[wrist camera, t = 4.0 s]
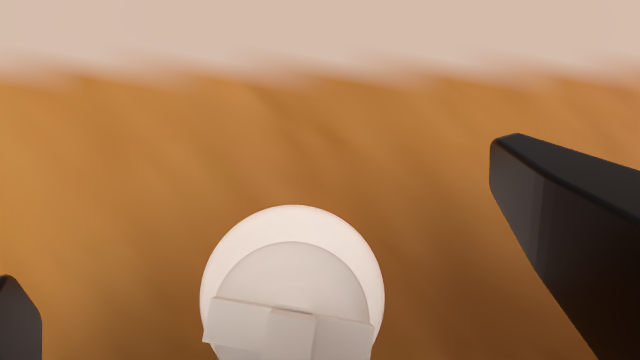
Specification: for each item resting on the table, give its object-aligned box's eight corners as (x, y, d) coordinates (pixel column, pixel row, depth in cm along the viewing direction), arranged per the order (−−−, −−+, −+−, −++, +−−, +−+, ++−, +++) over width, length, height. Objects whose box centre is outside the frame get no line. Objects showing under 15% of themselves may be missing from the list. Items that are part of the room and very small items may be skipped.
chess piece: (221, 190, 15) (83, 36, 5) (396, 222, 15) (583, 127, 5) (182, 374, 14) (-68, 599, 4) (368, 406, 14) (529, 700, 4)
